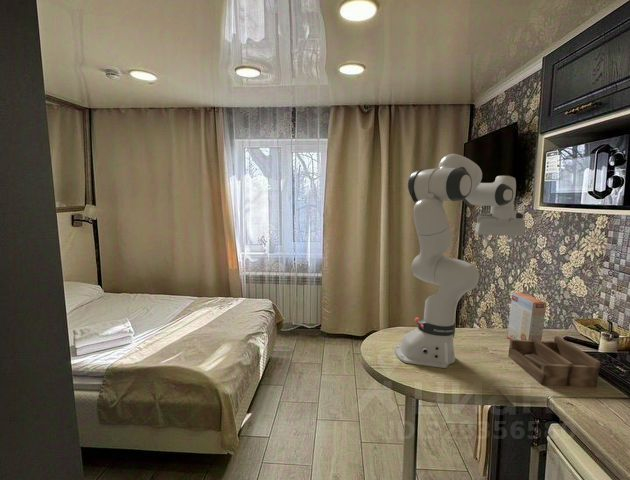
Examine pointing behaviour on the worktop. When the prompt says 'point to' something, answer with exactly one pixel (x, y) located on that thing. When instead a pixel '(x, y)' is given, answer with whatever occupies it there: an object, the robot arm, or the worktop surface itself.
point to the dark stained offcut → (536, 360)
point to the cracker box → (526, 317)
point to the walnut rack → (556, 362)
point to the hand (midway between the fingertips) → (498, 245)
